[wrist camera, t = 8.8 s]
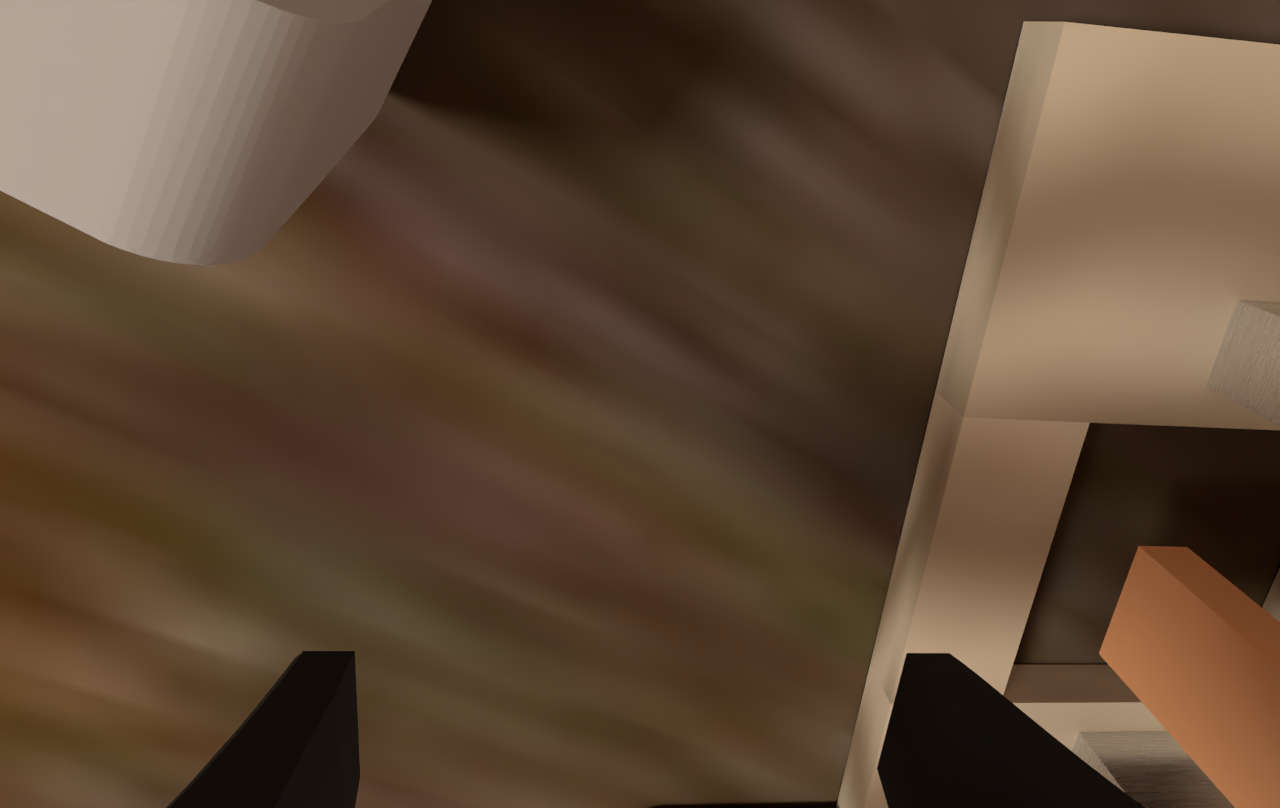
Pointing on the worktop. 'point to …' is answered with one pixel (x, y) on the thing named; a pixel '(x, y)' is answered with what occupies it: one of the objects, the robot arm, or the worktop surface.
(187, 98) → the wall hook
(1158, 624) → the notched orange block
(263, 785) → the robot arm
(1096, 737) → the grey rod with blocks
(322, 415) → the worktop surface
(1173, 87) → the shelf board
